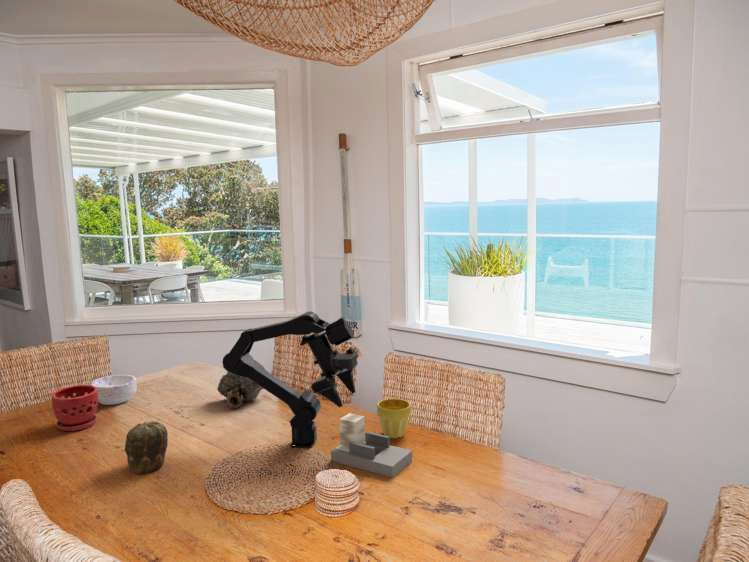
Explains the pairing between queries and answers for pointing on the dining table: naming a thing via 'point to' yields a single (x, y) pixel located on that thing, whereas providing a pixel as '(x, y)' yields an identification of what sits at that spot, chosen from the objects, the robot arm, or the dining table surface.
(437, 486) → the dining table surface
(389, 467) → the tunnel deck
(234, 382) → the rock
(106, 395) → the white bowl
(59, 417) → the plant pot
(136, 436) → the olive lumpy chunk
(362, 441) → the cream block
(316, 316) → the robot arm
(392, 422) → the plant pot
